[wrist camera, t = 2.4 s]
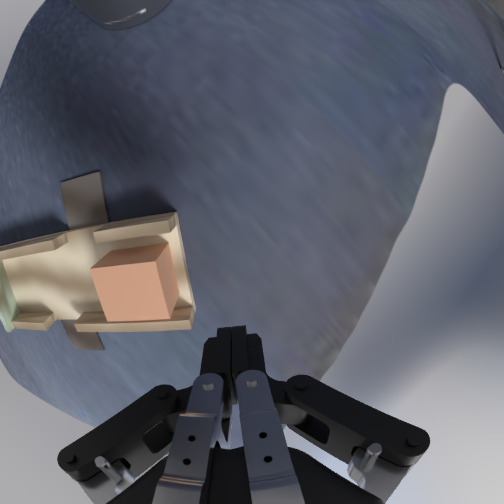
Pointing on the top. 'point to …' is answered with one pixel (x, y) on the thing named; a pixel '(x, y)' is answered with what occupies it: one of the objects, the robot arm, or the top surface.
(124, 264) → the block
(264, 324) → the top surface
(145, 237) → the box
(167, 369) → the top surface
